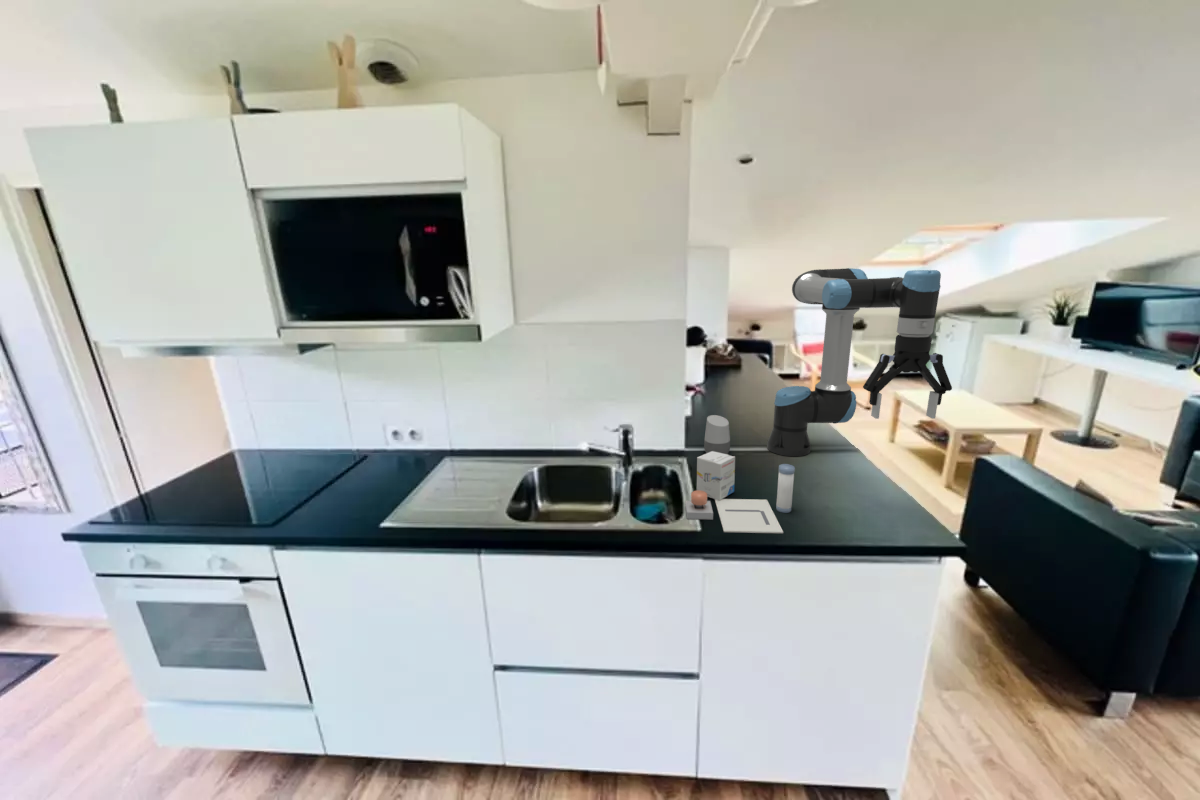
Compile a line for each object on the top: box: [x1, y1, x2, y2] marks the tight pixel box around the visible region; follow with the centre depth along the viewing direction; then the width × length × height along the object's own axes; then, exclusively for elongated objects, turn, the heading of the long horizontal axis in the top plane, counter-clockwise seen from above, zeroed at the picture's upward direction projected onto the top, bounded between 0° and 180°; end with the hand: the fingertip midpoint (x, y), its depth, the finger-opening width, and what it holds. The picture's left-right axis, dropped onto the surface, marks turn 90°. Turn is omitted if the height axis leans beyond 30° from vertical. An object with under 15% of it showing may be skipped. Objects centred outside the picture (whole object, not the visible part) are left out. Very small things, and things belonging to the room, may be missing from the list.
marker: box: [775, 463, 796, 514], centre depth 135 cm, size 4×4×13 cm
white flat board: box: [714, 498, 784, 534], centre depth 134 cm, size 18×15×1 cm
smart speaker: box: [703, 414, 731, 455], centre depth 177 cm, size 10×9×14 cm
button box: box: [684, 500, 714, 520], centre depth 136 cm, size 7×7×2 cm
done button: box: [690, 489, 708, 509], centre depth 136 cm, size 4×4×4 cm
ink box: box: [696, 451, 736, 500], centre depth 147 cm, size 9×8×12 cm
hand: (902, 417), depth 125 cm, fingers open, 13 cm apart
